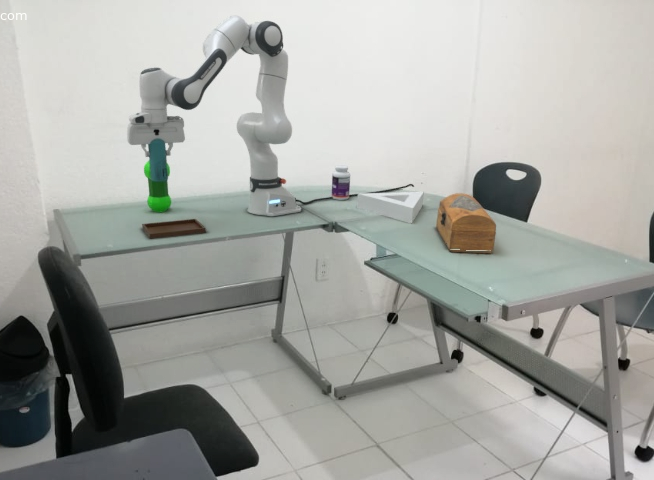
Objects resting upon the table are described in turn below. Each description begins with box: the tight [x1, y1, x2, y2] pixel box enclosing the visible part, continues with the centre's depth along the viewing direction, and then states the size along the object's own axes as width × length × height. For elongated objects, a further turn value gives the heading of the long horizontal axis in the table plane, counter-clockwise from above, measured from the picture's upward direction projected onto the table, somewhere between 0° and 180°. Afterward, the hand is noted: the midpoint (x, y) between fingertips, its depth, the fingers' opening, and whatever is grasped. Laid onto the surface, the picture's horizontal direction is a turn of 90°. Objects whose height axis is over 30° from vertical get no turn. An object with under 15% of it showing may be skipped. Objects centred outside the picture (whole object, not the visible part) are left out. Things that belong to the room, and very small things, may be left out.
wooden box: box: [435, 192, 497, 254], centre depth 217 cm, size 30×16×14 cm, turn 176°
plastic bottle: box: [143, 160, 172, 213], centre depth 244 cm, size 10×10×25 cm
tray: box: [141, 218, 206, 240], centre depth 223 cm, size 20×13×2 cm, turn 115°
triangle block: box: [356, 191, 425, 224], centre depth 255 cm, size 30×26×6 cm
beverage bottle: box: [147, 129, 169, 182], centre depth 220 cm, size 6×7×20 cm
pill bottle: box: [331, 165, 351, 201], centre depth 271 cm, size 8×8×14 cm
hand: (157, 156), depth 220 cm, fingers closed on beverage bottle, 6 cm apart
